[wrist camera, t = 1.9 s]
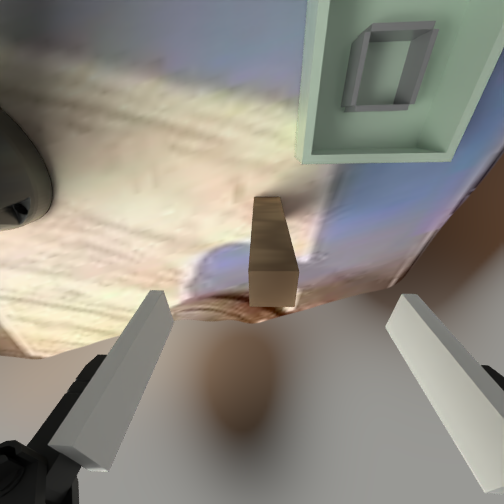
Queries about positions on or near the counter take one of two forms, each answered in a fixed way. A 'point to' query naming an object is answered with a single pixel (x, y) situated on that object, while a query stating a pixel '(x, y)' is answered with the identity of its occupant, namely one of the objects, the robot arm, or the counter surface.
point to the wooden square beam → (271, 257)
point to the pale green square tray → (393, 77)
